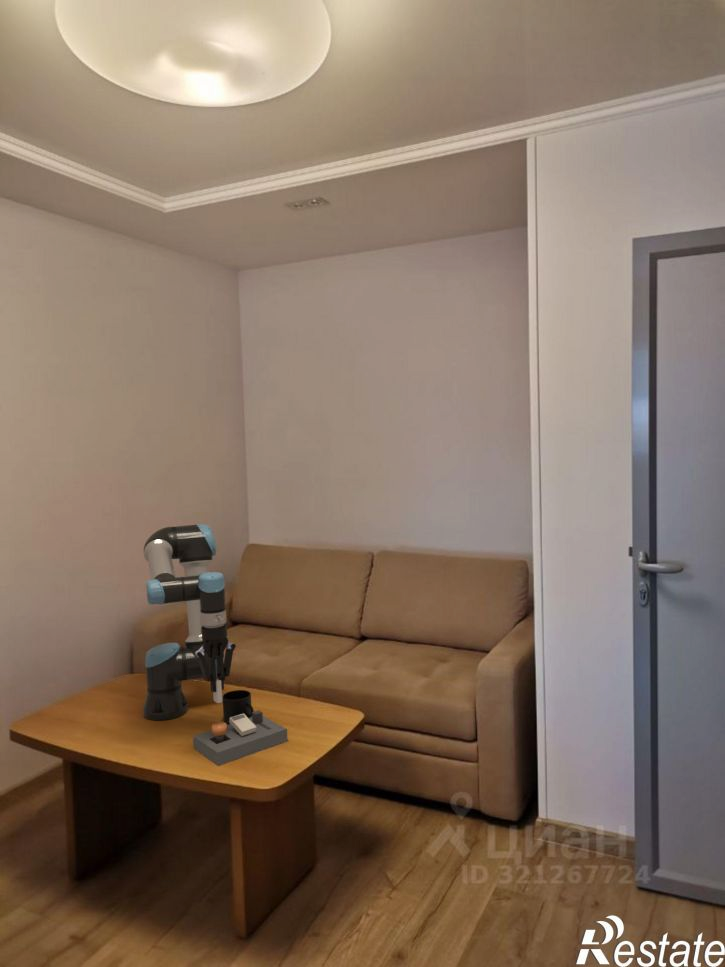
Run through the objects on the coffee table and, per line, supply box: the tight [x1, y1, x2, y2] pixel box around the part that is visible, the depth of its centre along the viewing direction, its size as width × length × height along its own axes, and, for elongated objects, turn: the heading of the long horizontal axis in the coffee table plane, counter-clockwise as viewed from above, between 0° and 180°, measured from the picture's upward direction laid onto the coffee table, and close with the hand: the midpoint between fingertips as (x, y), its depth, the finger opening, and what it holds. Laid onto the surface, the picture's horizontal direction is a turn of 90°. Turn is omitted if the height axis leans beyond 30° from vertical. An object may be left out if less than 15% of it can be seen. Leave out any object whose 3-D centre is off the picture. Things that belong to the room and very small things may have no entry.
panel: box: [192, 715, 288, 767], centre depth 227 cm, size 16×24×5 cm, turn 129°
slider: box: [252, 710, 264, 723], centre depth 234 cm, size 2×2×3 cm
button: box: [211, 721, 227, 744], centre depth 222 cm, size 4×4×6 cm
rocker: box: [229, 713, 257, 736], centre depth 227 cm, size 8×5×2 cm, turn 39°
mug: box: [222, 689, 254, 725], centre depth 245 cm, size 9×12×9 cm
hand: (218, 701), depth 221 cm, fingers closed
